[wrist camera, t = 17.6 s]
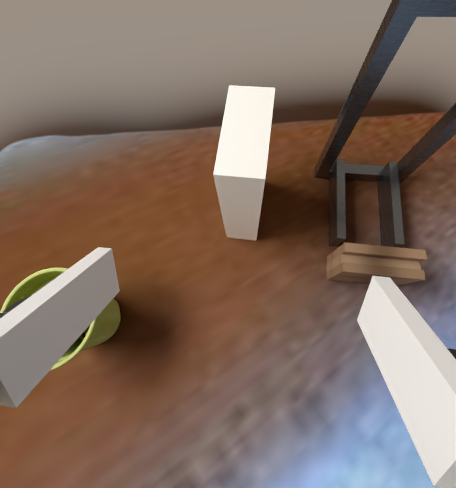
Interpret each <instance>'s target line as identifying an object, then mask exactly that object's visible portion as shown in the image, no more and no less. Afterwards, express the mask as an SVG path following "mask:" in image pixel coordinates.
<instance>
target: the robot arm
mask: <svg viewBox="0 0 456 488" xmlns="http://www.w3.org/2000/svg"><path fill="white" fill-rule="evenodd" d="M119 291H120V290H119V284H118V279H117V274H116V269H115V263H114V258H113V253H112V249H111V248H101V247H98V248H97V249H95V250H94V251H92V252H91V253H90V254H88V255H87V256H86V257H84V258H83V259H81V260H80V261H79V262H77V263H76V264H74V265H73V266H72V267H70V268H69V269H68V270H66V271H65V272H63V273H62V274H61V275H59V276H58V277H57V278H55V279H54V280H52V281H51V282H50V283H48V284H47V285H46V286H44V287H43V288H41V289H40V290H39V291H37V292H36V293H35V294H33V295H30V296H28V297H26V298H23V299H21V300H19V301H17V302H15V303H14V304H12V305H11V306H9V307H8V308H7V309H5V310H4V311H3V313H0V405H3V406H8V407H14V408H17V407H18V405H19V404H20V403H21V402H22V401H23V400H24V399H25V397H26V396H27V395H28V394H29V393H30V392H31V391H32V390H33V388H34V387H35V386H36V385H37V384H38V383H39V382H40V381H41V379H42V378H43V377H44V376H45V375H46V374H47V373H48V371H49V370H50V369H51V368H52V367H53V366H54V365H55V364H56V362H57V361H58V360H59V359H60V358H61V357H62V356H63V355H64V353H65V352H66V351H67V350H68V349H69V348H70V347H71V346H72V344H73V343H74V342H75V341H76V340H77V339H78V338H79V336H80V335H81V334H82V333H83V332H84V331H85V330H86V329H87V327H88V326H89V325H90V324H91V323H92V322H93V321H94V320H95V318H96V317H97V316H98V315H99V314H100V313H101V312H102V310H103V309H104V308H105V307H106V306H107V305H108V304H109V303H110V301H111V300H112V299H113V298H114V297H115V296H116V295H117V294H118V292H119ZM357 321H358V323H359V326H360V328H361V330H362V332H363V334H364V336H365V339H366V341H367V343H368V345H369V347H370V349H371V352H372V354H373V356H374V358H375V360H376V362H377V365H378V367H379V369H380V371H381V373H382V375H383V378H384V380H385V382H386V384H387V386H388V388H389V391H390V393H391V395H392V397H393V399H394V401H395V404H396V406H397V408H398V410H399V412H400V414H401V417H402V419H403V421H404V423H405V425H406V428H407V430H408V432H409V434H410V436H411V438H412V441H413V443H414V445H415V447H416V449H417V451H418V454H419V456H420V458H421V460H422V462H423V464H424V467H425V469H426V471H427V473H428V475H429V477H430V480H431V482H432V484H433V486H435V487H440V488H456V350H454V349H447V348H446V347H445V345H444V344H443V343H442V342H441V340H440V339H439V338H438V337H437V335H436V334H435V333H434V332H433V330H432V329H431V328H430V327H429V326H428V324H427V323H426V322H425V321H424V319H423V318H422V317H421V316H420V314H419V313H418V312H417V311H416V309H415V308H414V307H413V306H412V304H411V303H410V302H409V301H408V299H407V298H406V297H405V296H404V294H403V293H402V292H401V291H400V289H399V288H398V287H397V286H396V284H395V283H394V282H393V281H392V280H391V278H390V277H380V276H372V279H371V282H370V285H369V288H368V290H367V293H366V296H365V299H364V302H363V305H362V308H361V311H360V313H359V316H358V319H357Z"/></svg>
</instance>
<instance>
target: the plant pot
mask: <svg viewBox="0 0 456 488" xmlns="http://www.w3.org/2000/svg"><path fill="white" fill-rule="evenodd" d="M66 270H68V269H66V268H49V269H44V270H41V271H38V272H36V273H34V274H32V275H30V276H29V277H27V278H26V279H24V280H23V281H22V282H21V283H19V284H18V285H17V286H16V287H15V288H14V290H13V291H12V292H11V293H10V295H9V296H8V297H7V299H6V301H5V303H4V304H3V307H2V309H1V312H0V313H3V311H4V310H5V309H7V308H8V307H9V306H11V305H12V304H14V303H15V302H17V301H19V300H21V299H23V298H26V297H28V296H30V295H33V294H35V293H36V292H37V291H39V290H40V289H41V288H43V287H44V286H46V285H47V284H48V283H50V282H51V281H52V280H54V279H55V278H57V277H58V276H59V275H61V274H62V273H63V272H65V271H66ZM120 319H121V316H120V309H119V305H118V303H117V301H116V300H115V299H114V298H113V299H112V300H111V301H110V303H109V304H108V305H107V306H106V307H105V308H104V309H103V310H102V312H101V313H100V314H99V315H98V316H97V317H96V318H95V320H94V321H93V322H92V323H91V324H90V325H89V326H88V327H87V329H86V330H85V331H84V333H85V334H86V336H85V338H84V337H83V336H82V334H81V335H80V336H79V338H78V339H77V340H76V341H75V342H74V343H73V344H72V346H71V347H70V348H69V349H68V350H67V351H66V352H65V353H64V355H63V356H62V357H61V358H60V359H59V360H58V361H57V362H56V364H55V365H54V366H53V367H52V368H51V369H50V370H52V369H55V368H57V367H59V366H62V365H63V364H65V363H67V362H68V361H70V360H71V359H72V358H74V357H75V356H76V355H77V354H78V353H79V352H80V351H83V350H85V349H88V348H90V347H93V346H96V345H98V344H101V343H103V342H105V341H106V340H108V339H109V338H110V337H111V336H112V335H113V334H114V333H115V332H116V330H117V328H118V326H119V324H120Z"/></svg>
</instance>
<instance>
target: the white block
mask: <svg viewBox="0 0 456 488" xmlns="http://www.w3.org/2000/svg"><path fill="white" fill-rule="evenodd" d="M274 93H275V88H271V87H249V86H229V90H228V96H227V101H226V106H225V112H224V118H223V123H222V129H221V134H220V140H219V146H218V151H217V157H216V162H215V168H214V174H213V175H214V180H215V185H216V190H217V194H218V199H219V204H220V208H221V213H222V218H223V222H224V227H225V232H226V236H227V237H228V238H237V239H246V240H255V241H256V240H257V233H258V226H259V219H260V212H261V205H262V198H263V192H264V185H265V177H266V168H267V159H268V150H269V140H270V131H271V122H272V112H273V104H274Z"/></svg>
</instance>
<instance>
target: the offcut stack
mask: <svg viewBox="0 0 456 488" xmlns="http://www.w3.org/2000/svg"><path fill="white" fill-rule="evenodd" d="M424 260H427V258H426V250H420V249H409V248H398V247H388V246H377V245H366V244H355V243H343V244H342V245H341V246H340V247H338V248H337V249H336V250H335V251H333V252H332V253H331V254H329V255H328V256H327V280H334V281H344V282H353V283H362V284H370V282H371V279H372V276H380V277H390V278H391V280H392V281H393V282H394V283H395V284H396V286H401V285H405V284H410V283H414V282H418V281H423V280H425V271H424V270H421V266H420V262H421V261H424Z"/></svg>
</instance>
